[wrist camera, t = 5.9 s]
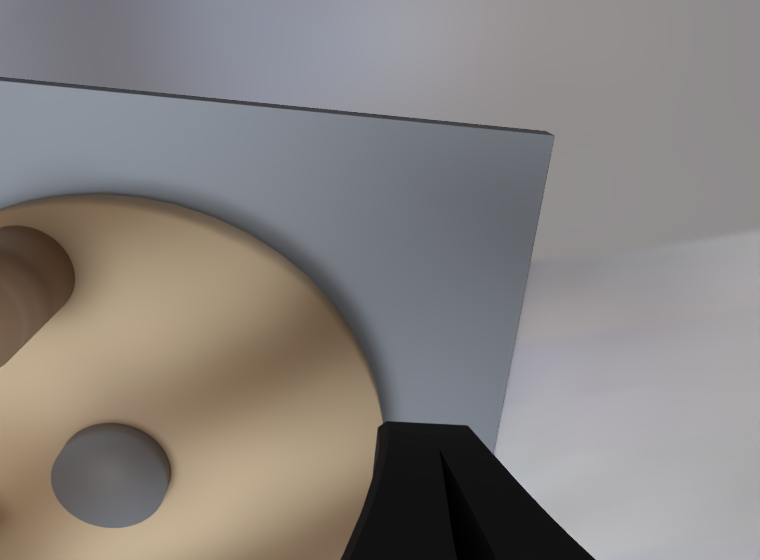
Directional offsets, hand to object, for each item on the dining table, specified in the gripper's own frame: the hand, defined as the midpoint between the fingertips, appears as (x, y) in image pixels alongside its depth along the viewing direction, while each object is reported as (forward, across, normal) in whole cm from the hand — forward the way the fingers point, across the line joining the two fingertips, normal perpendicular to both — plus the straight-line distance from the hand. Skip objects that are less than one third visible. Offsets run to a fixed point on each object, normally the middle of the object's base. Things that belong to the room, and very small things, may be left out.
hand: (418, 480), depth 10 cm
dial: (+9, +7, +6) cm, 13 cm away
